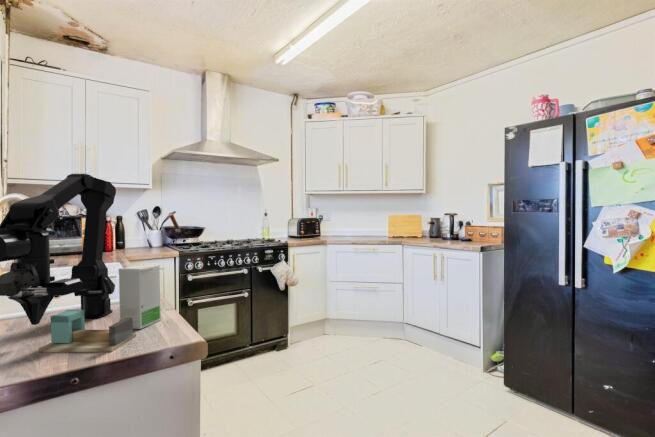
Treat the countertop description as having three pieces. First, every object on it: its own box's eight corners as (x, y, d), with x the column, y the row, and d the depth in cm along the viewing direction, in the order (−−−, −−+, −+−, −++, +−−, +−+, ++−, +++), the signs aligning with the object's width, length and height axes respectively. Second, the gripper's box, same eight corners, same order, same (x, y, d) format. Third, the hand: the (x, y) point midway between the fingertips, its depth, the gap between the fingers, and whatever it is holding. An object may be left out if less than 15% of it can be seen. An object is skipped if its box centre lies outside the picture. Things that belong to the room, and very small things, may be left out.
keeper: (51, 343, 76) (50, 316, 76) (68, 335, 80) (67, 309, 80) (69, 342, 76) (68, 316, 75) (84, 335, 80) (84, 309, 80)
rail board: (38, 351, 74) (38, 328, 73) (70, 336, 83) (70, 316, 82) (111, 351, 73) (111, 328, 73) (136, 336, 82) (135, 315, 82)
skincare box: (139, 330, 87) (138, 269, 86) (117, 328, 88) (116, 268, 88) (162, 319, 95) (161, 264, 94) (141, 318, 96) (140, 263, 96)
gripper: (-46, 262, 70) (-44, 337, 70) (43, 261, 70) (45, 337, 70) (6, 255, 81) (8, 320, 81) (83, 254, 81) (85, 319, 81)
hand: (35, 324), depth 78 cm, fingers closed
